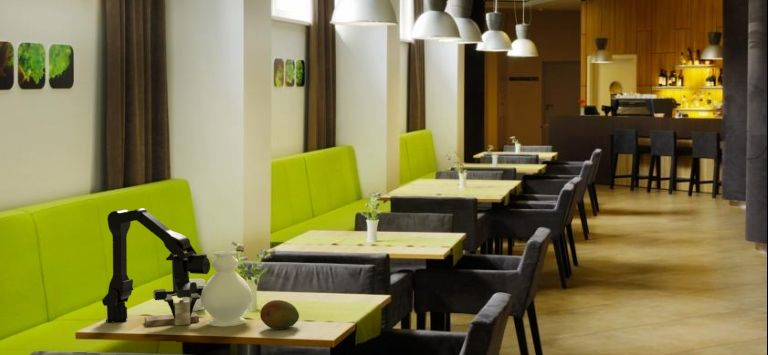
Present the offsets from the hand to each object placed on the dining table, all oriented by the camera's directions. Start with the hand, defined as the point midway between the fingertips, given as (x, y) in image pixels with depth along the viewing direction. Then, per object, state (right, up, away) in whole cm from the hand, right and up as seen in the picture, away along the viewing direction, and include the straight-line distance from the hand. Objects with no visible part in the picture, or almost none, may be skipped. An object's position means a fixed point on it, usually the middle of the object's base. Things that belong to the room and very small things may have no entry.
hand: (182, 317), depth 389 cm
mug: (+1, -1, +25) cm, 25 cm away
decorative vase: (+15, -2, +2) cm, 16 cm away
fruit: (+35, -3, -9) cm, 37 cm away
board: (-4, -2, +4) cm, 7 cm away
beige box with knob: (-1, -2, +3) cm, 4 cm away
